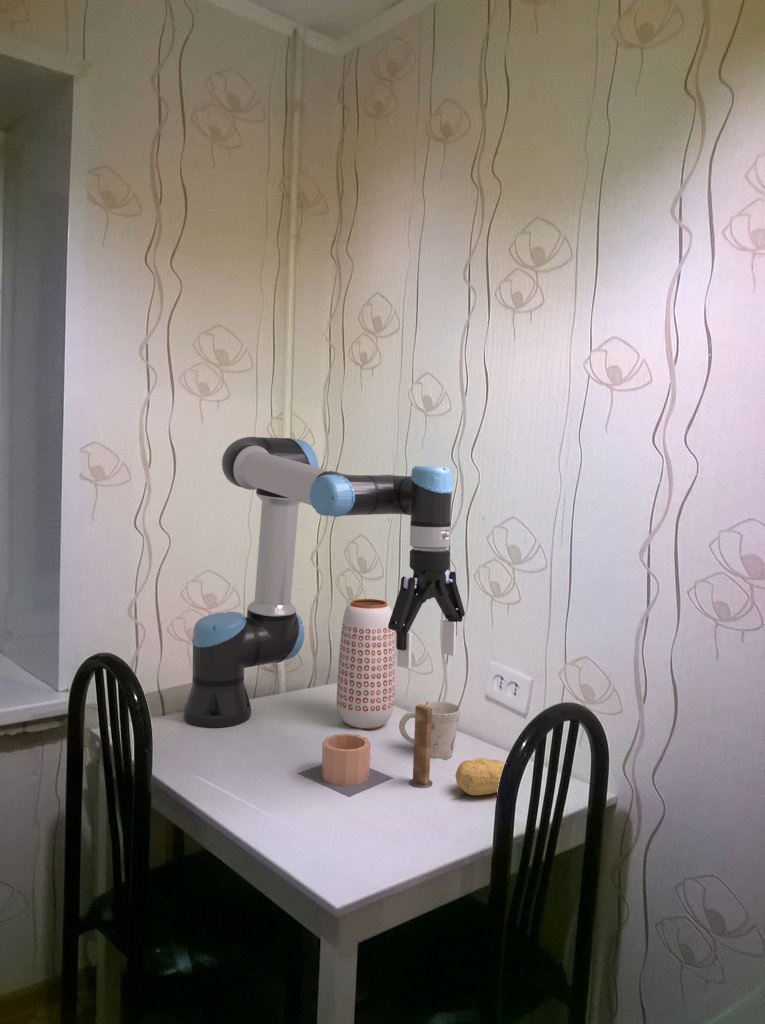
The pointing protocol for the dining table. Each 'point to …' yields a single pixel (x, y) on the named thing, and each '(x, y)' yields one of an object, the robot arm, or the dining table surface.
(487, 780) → the potato
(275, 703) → the dining table surface
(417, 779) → the long wooden stick
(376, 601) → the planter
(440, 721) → the mug
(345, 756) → the jar
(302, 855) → the dining table surface
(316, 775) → the mat
